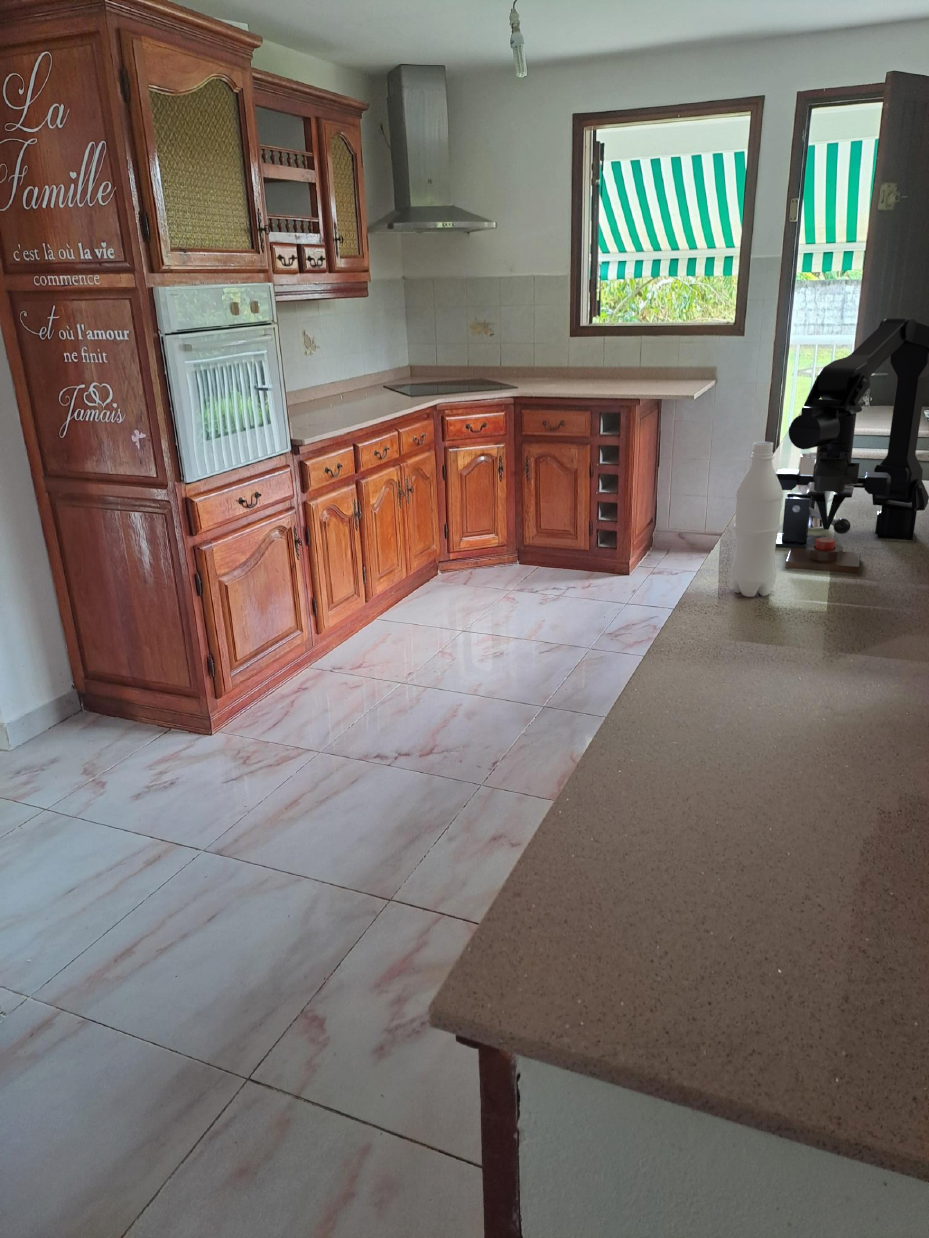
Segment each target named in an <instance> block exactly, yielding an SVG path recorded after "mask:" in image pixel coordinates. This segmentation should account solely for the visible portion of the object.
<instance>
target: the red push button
mask: <svg viewBox="0 0 929 1238" xmlns="http://www.w3.org/2000/svg"><path fill="white" fill-rule="evenodd" d="M835 544H836V539H834V538H831V537H826V538H817V539H816V544H815V549H819V550H834V546H835Z"/></svg>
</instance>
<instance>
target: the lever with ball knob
mask: <svg viewBox="0 0 929 1238" xmlns="http://www.w3.org/2000/svg"><path fill="white" fill-rule="evenodd" d="M793 498H799V497H797V496H794V497H793ZM809 514H810V515H812V516H814V517H816V518H818V519H820V520H821V516H820V512H819V511H816V510H814V509H812V508H810V507H809ZM827 519H828V515H827ZM830 526H832V528H833V530H834V532H835V533H837V534H839V535H844V534H847V533H848V532H849V531H850V529H851V523H850V521H849V519H847V518H845V517H841V518H838V519H836V518H833V521H832V523H831V525H830Z"/></svg>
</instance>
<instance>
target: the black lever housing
mask: <svg viewBox="0 0 929 1238" xmlns="http://www.w3.org/2000/svg"><path fill="white" fill-rule="evenodd" d="M794 496H797V497H799V498H793V497H794ZM811 497H812V496H808V495H807V494H804V493H798V492H788V493H787V494H786V497H785V498H784V508H783V518H782V519H783V521H782V531H781V532H778V536H777V540H776V546H775V548H780V549H782V548H783V549H791V548H800V549H806V547H807V545H809V544H812V543H816V539H817V538H827V535H819V534H818V535H816V534H809V529H810V528H809V517H810V514H809V507H811Z"/></svg>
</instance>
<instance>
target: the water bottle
mask: <svg viewBox="0 0 929 1238" xmlns="http://www.w3.org/2000/svg"><path fill="white" fill-rule="evenodd" d="M773 448H774V442H772V441H754V442H753V445H752V452H751V455H750V457H749V458H750V460H751V462H750V466H749V468H748V469H747V472H746V473H745V474H744V476H743V477H742V480H741V481H740V483H739V485H738V487H737V490H736V494H735V497H736V502H735V520H734V524H733V529H734V536H735V549H734V551H735V552H734V557H733V560H732V565H731V569H730V583H731V587H732V588H733V591H734V592H735V593H736V594H740V593H741V595H742V596H744V597H747V598H754V597H755V596H756V595H757V593H758V594H760V596H762V597H765V596H768V595H770V593H771V592H772V590H773V588H774V586H775V584H776V580H777V566H776V547H775V546H776V540H777V536H778V533H780V532H779V531H780V529H781V524H780V521H781V512H782V499H783V497H784V493H783V490H782V487H781V485H780V482H779V480H778V478H777V476H776V473H777V472H775V469H774V465H773V460H774V458H775V456H774V452H773V450H774V449H773Z"/></svg>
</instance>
